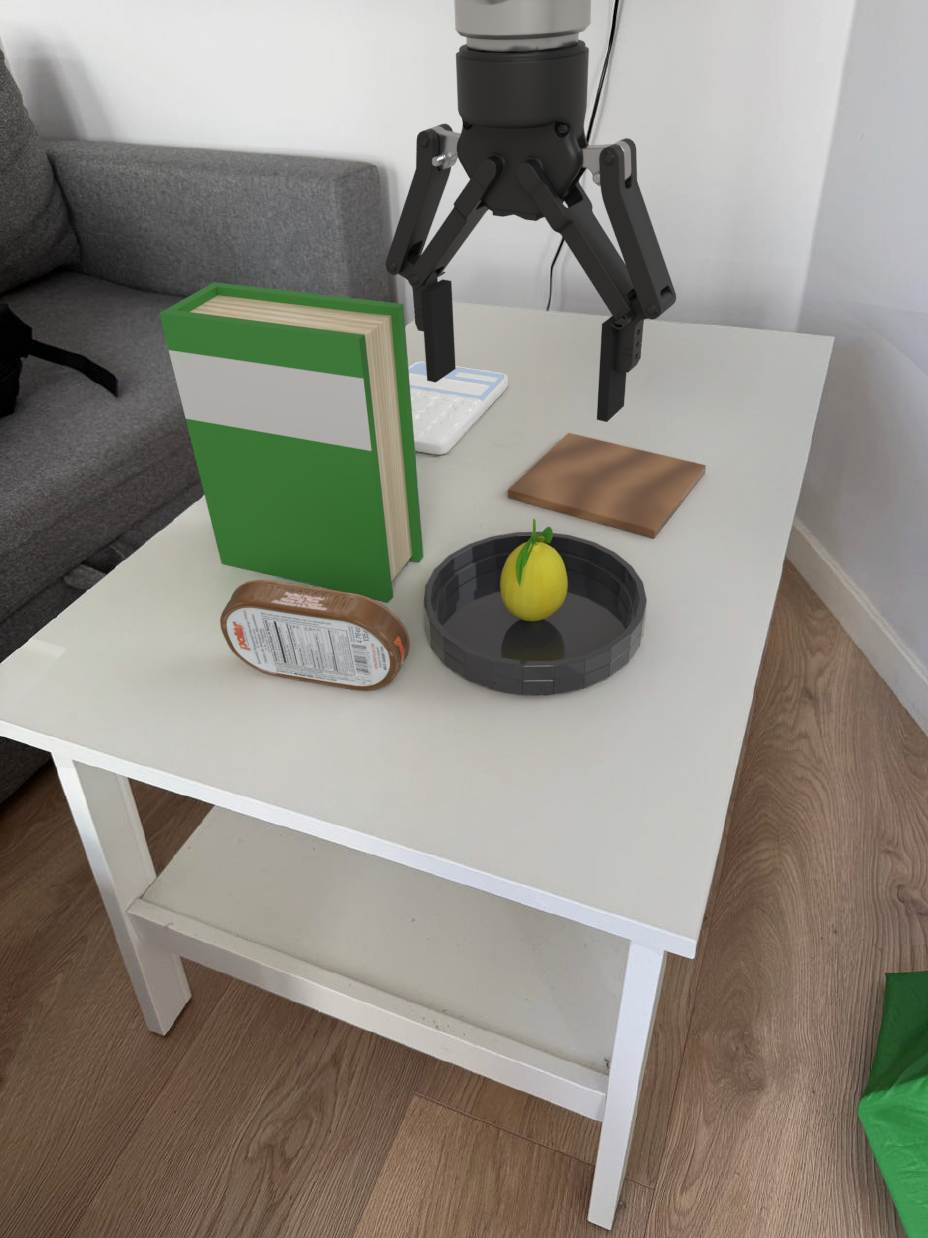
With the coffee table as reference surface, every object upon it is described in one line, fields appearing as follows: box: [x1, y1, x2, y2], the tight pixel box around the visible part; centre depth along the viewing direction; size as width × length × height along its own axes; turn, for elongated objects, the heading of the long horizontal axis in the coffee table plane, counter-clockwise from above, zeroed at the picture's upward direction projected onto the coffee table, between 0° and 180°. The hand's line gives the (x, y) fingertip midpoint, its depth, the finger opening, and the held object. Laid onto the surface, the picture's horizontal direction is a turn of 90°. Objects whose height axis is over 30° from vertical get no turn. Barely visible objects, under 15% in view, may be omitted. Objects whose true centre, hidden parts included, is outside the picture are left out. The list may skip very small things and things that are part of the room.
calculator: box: [408, 361, 509, 456], centre depth 109 cm, size 13×20×2 cm, turn 156°
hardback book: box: [159, 281, 424, 603], centre depth 79 cm, size 18×7×24 cm, turn 67°
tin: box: [219, 579, 411, 692], centre depth 71 cm, size 15×3×8 cm, turn 74°
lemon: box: [500, 518, 568, 621], centre depth 74 cm, size 7×6×10 cm
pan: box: [423, 531, 648, 697], centre depth 77 cm, size 18×18×4 cm
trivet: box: [507, 432, 707, 539], centre depth 95 cm, size 16×14×1 cm
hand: (522, 393), depth 65 cm, fingers open, 13 cm apart
